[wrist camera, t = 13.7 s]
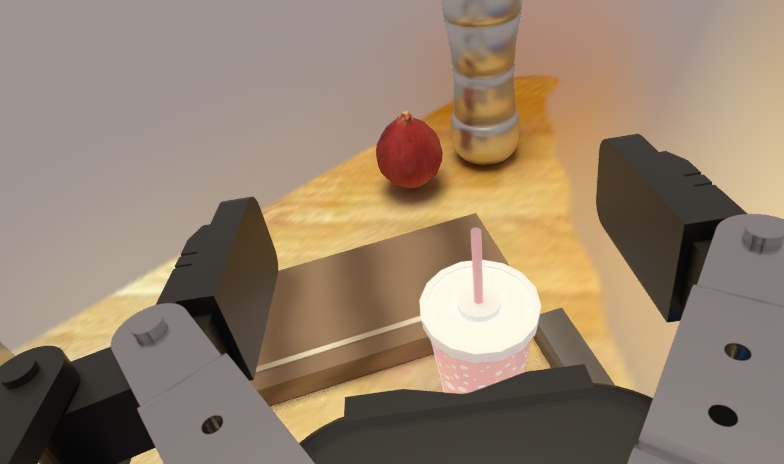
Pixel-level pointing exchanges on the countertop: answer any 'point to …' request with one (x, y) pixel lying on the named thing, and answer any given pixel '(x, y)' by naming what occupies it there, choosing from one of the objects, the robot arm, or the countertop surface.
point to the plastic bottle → (483, 77)
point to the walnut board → (378, 313)
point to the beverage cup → (479, 321)
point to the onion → (408, 152)
